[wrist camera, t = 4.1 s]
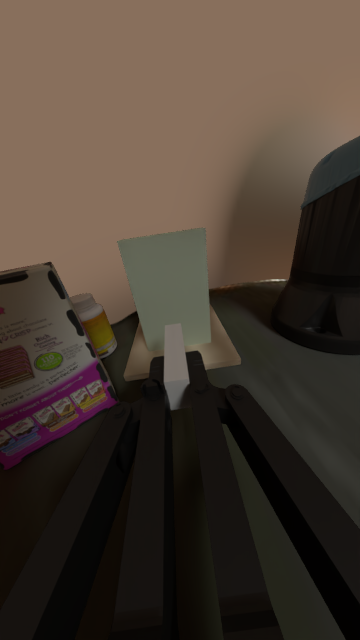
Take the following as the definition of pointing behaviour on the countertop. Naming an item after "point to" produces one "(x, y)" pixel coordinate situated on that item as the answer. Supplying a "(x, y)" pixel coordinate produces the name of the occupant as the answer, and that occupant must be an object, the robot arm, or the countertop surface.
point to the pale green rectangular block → (169, 284)
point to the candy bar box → (44, 364)
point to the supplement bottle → (95, 323)
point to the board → (212, 353)
